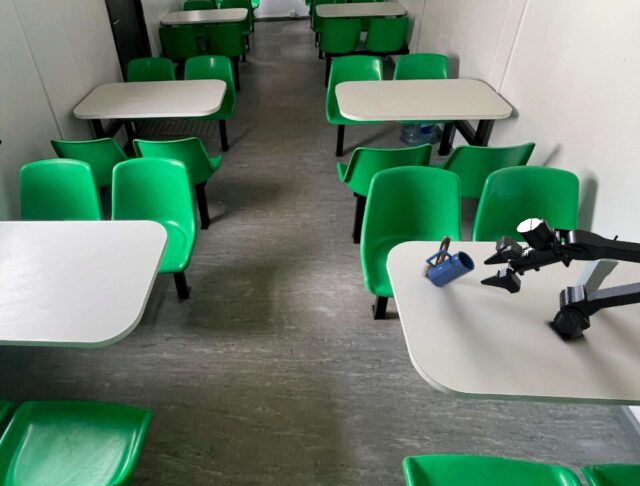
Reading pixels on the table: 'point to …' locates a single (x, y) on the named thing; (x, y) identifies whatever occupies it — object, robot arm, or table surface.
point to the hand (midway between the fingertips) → (482, 272)
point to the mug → (449, 268)
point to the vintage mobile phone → (596, 272)
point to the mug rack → (441, 258)
